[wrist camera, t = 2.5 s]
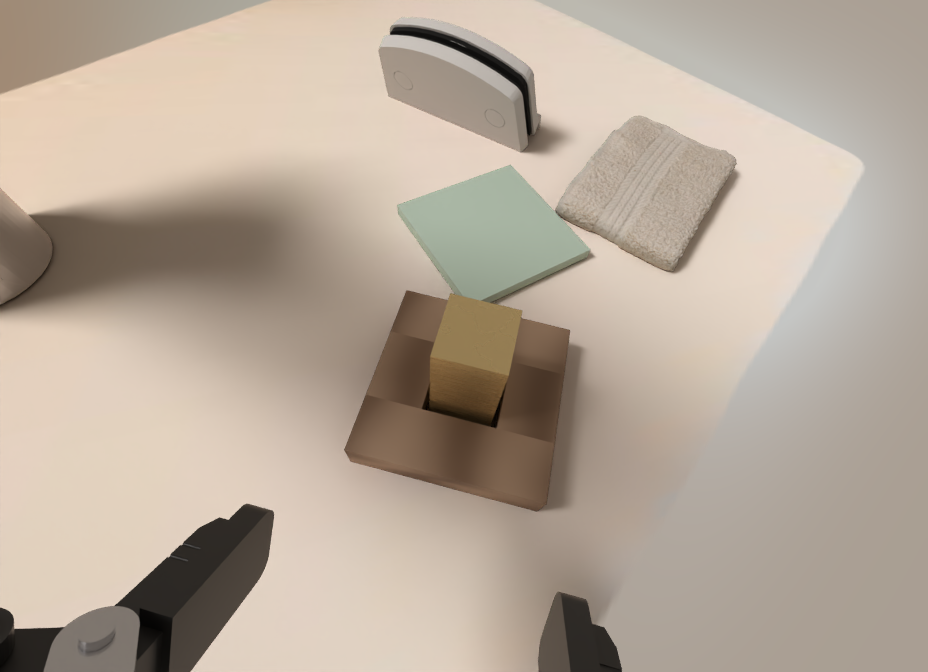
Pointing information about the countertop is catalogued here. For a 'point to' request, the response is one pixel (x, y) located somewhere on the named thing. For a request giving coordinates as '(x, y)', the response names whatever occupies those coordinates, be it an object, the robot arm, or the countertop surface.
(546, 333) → the socket base
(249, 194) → the countertop surface
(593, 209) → the washcloth
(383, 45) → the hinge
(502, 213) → the mat
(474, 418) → the peg
